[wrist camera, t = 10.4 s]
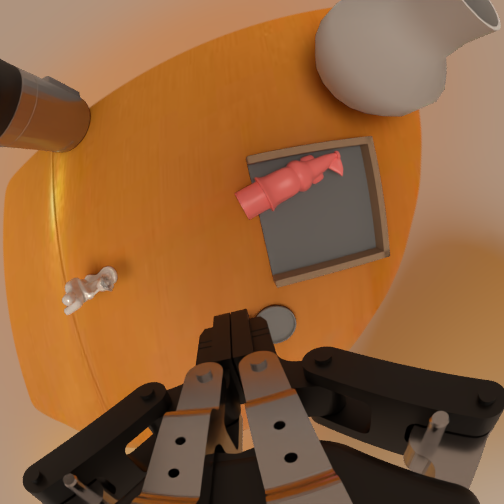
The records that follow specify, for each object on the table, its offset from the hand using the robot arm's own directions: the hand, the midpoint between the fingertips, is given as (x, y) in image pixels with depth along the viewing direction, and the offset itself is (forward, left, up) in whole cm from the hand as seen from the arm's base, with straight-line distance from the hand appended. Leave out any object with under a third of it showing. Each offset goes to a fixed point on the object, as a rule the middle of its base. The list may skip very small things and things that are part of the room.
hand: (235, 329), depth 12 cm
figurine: (+2, -21, -28) cm, 35 cm away
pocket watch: (+16, +2, -28) cm, 32 cm away
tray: (0, +13, -28) cm, 31 cm away
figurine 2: (-3, +2, -25) cm, 25 cm away
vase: (-19, +23, -28) cm, 41 cm away
